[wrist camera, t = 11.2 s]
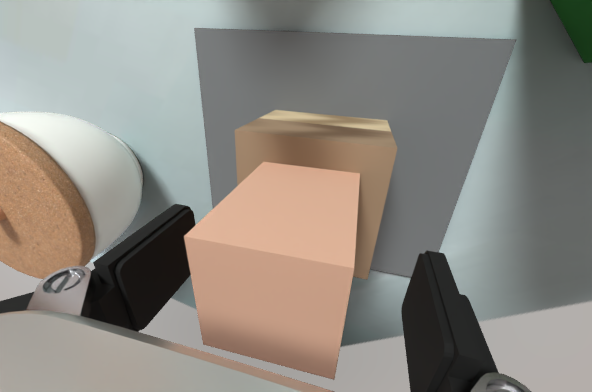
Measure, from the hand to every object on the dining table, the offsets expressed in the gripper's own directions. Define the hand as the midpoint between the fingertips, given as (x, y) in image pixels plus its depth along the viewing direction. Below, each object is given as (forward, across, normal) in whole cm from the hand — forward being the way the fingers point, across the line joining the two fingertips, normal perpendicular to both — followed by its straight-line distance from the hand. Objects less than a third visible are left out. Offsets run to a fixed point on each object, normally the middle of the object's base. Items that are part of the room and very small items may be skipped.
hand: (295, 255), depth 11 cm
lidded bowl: (+11, +22, +3) cm, 25 cm away
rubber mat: (+12, +1, 0) cm, 12 cm away
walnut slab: (+8, 0, 0) cm, 8 cm away
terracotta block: (+4, 0, 0) cm, 4 cm away
